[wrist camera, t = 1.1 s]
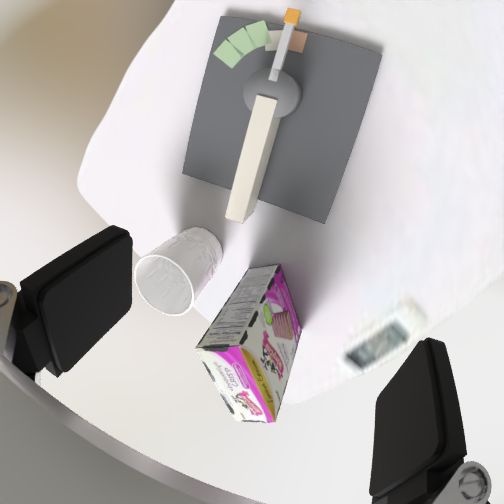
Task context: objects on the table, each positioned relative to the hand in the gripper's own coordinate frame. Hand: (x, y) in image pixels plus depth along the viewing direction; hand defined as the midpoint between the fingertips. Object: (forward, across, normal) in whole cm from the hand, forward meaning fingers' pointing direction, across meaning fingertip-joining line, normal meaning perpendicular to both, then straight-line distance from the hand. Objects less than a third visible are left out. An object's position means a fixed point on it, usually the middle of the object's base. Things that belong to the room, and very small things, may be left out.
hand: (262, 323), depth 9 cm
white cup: (+28, +13, +15) cm, 34 cm away
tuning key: (+26, +7, -4) cm, 27 cm away
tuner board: (+28, +7, -4) cm, 29 cm away
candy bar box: (+28, +1, +19) cm, 34 cm away
